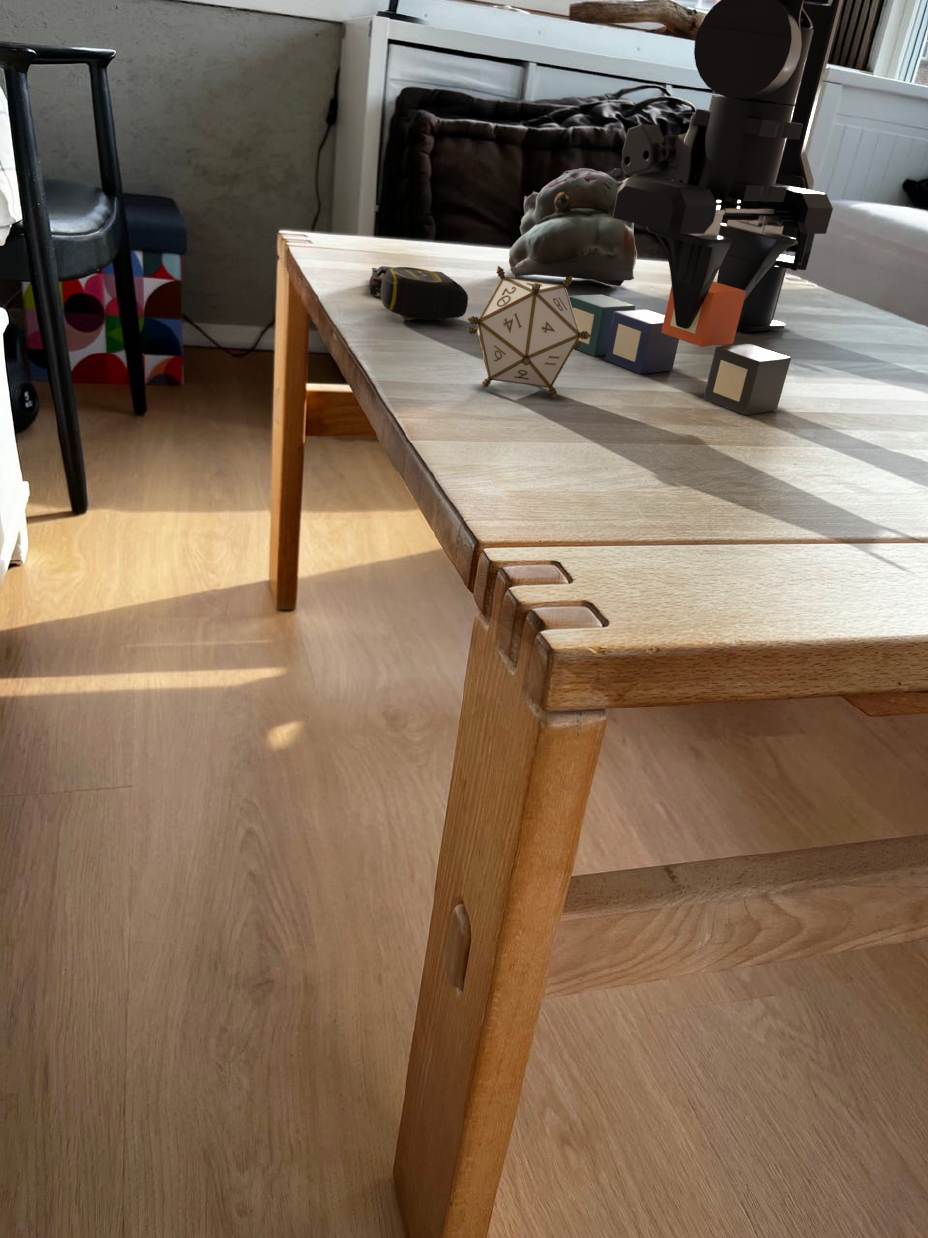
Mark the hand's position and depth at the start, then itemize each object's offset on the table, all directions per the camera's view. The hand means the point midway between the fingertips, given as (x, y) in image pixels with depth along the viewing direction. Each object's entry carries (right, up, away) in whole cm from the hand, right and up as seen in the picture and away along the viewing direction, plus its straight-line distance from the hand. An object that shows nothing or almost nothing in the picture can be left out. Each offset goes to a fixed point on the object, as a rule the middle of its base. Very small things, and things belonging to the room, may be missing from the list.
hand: (700, 325), depth 79 cm
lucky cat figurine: (-7, +15, +35) cm, 39 cm away
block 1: (-7, +1, +9) cm, 11 cm away
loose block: (0, -1, +1) cm, 1 cm away
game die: (-14, -6, -5) cm, 16 cm away
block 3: (+3, -6, -1) cm, 7 cm away
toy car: (-25, +9, +19) cm, 33 cm away
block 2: (-4, -2, +5) cm, 7 cm away
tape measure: (-22, +4, +11) cm, 25 cm away
